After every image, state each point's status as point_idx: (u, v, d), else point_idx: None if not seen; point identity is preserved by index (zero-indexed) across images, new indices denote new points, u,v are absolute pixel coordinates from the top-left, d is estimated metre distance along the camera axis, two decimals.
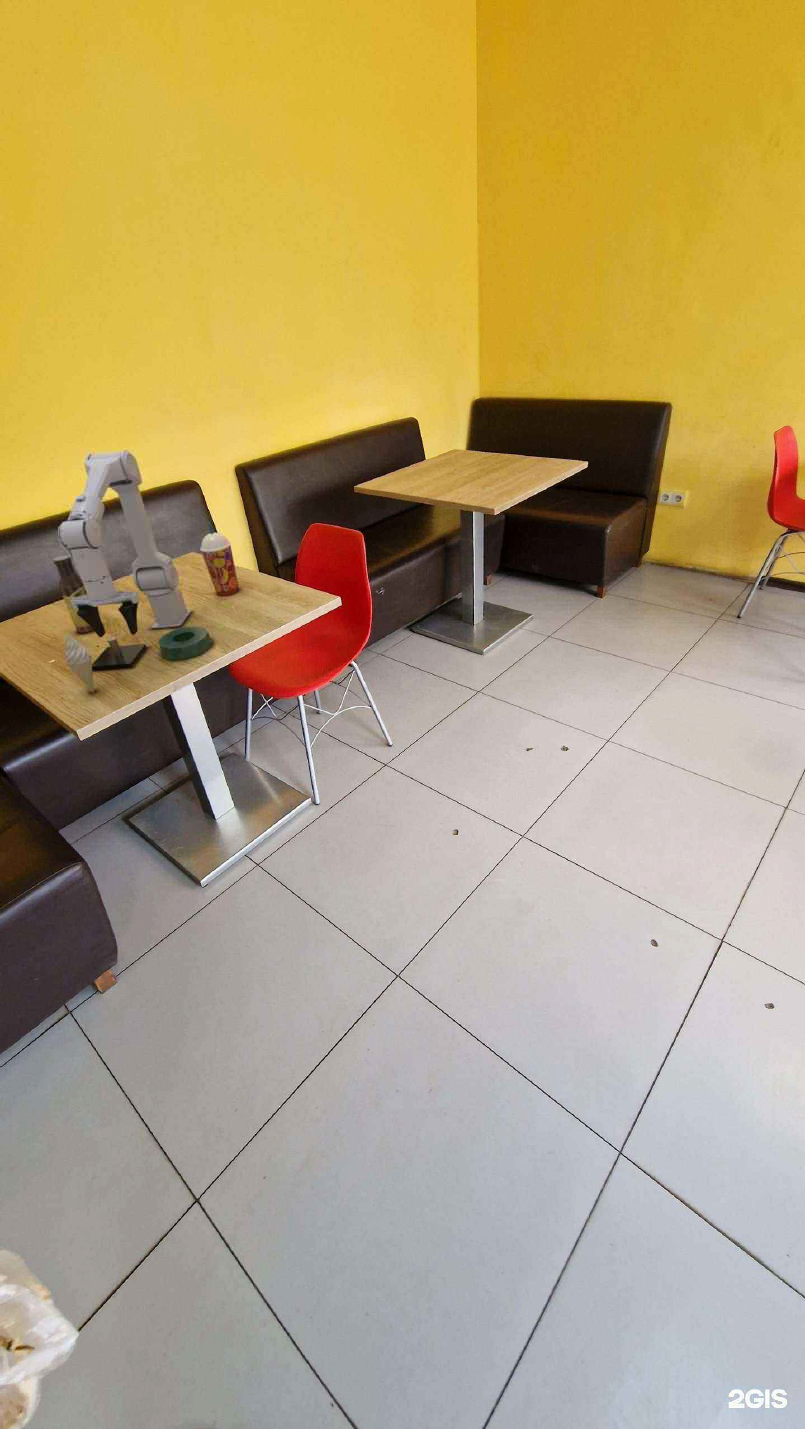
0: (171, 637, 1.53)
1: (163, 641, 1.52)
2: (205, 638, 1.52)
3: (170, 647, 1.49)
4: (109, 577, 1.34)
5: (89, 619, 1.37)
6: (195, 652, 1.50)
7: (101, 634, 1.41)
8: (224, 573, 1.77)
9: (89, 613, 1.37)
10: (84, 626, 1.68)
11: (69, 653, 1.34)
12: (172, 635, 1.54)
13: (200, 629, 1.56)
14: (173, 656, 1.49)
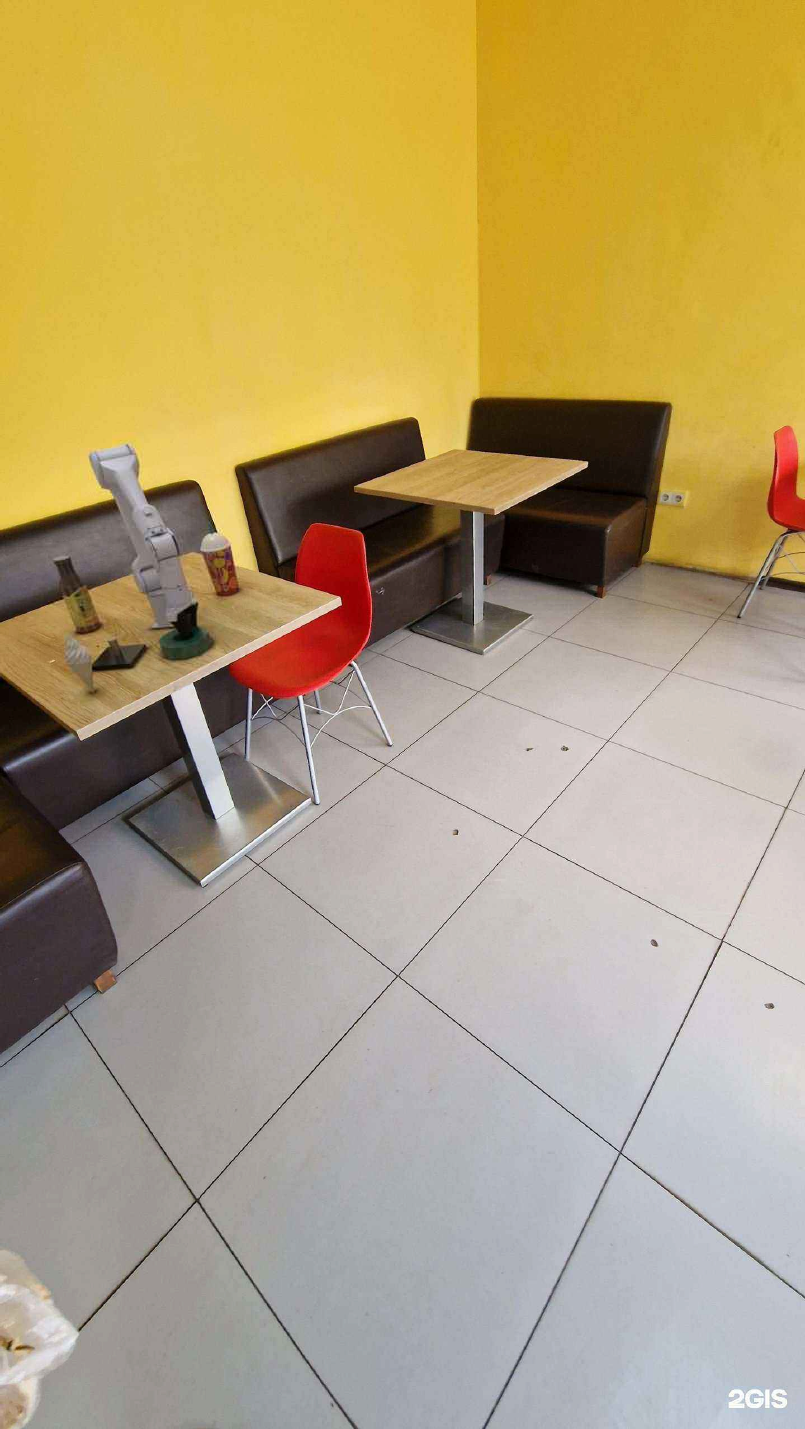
0: (171, 636, 1.54)
1: (163, 640, 1.52)
2: (205, 637, 1.52)
3: (170, 647, 1.49)
4: None
5: (190, 620, 1.53)
6: (195, 651, 1.50)
7: None
8: (224, 573, 1.77)
9: None
10: (84, 626, 1.68)
11: (69, 653, 1.34)
12: (172, 634, 1.55)
13: (200, 628, 1.56)
14: (173, 655, 1.50)
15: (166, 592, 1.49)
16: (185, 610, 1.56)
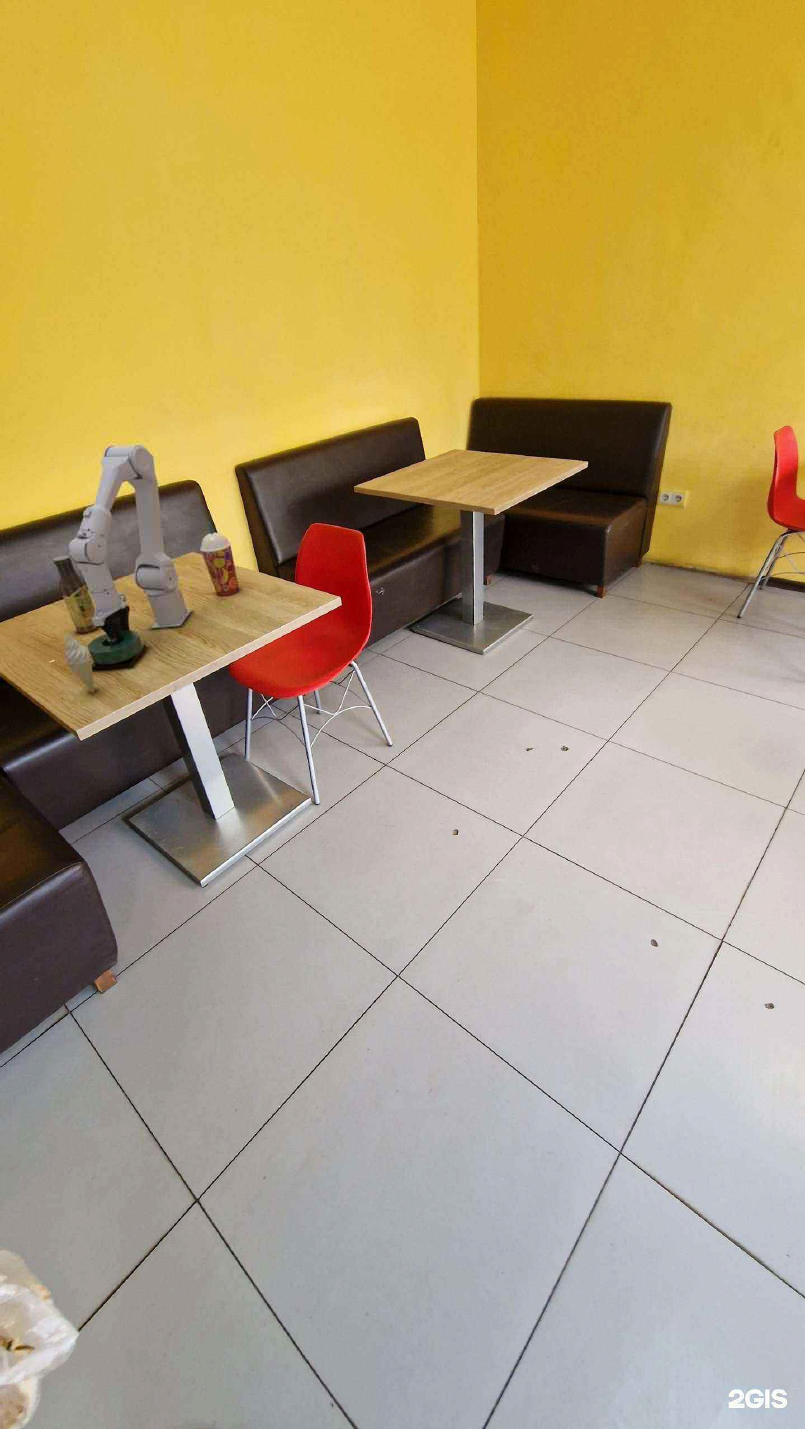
0: (101, 641, 1.51)
1: (92, 645, 1.50)
2: (135, 642, 1.50)
3: (97, 652, 1.47)
4: None
5: (119, 624, 1.51)
6: (124, 656, 1.48)
7: None
8: (224, 573, 1.77)
9: None
10: (84, 626, 1.68)
11: (69, 653, 1.34)
12: (102, 639, 1.52)
13: (131, 633, 1.54)
14: (101, 660, 1.48)
15: (93, 596, 1.46)
16: (116, 614, 1.54)
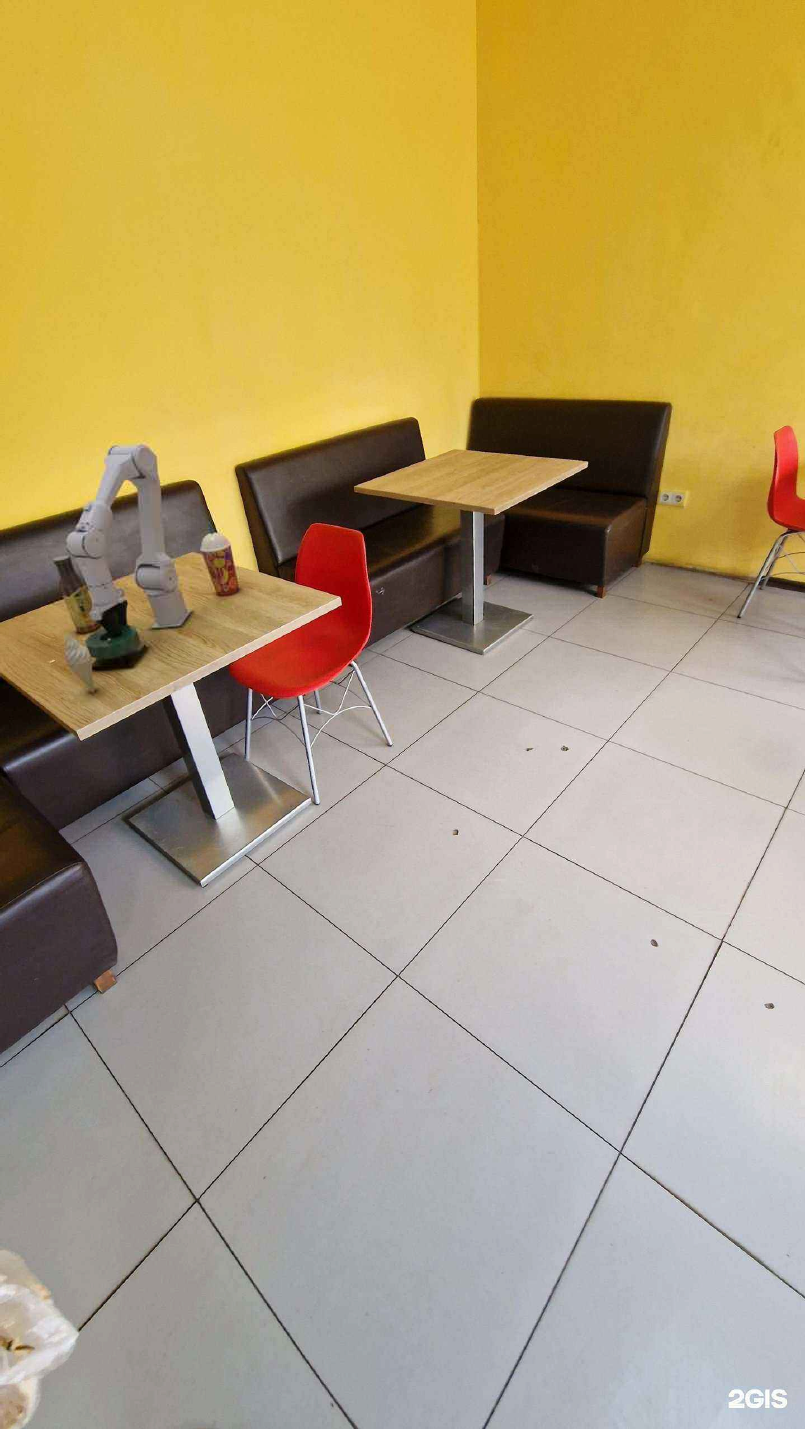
0: (99, 636, 1.51)
1: (90, 640, 1.49)
2: (133, 637, 1.49)
3: (95, 646, 1.46)
4: None
5: (117, 619, 1.50)
6: (121, 651, 1.47)
7: None
8: (224, 573, 1.77)
9: None
10: (84, 626, 1.68)
11: (69, 653, 1.34)
12: (100, 634, 1.52)
13: (129, 628, 1.53)
14: (99, 655, 1.47)
15: (91, 590, 1.46)
16: (114, 609, 1.53)
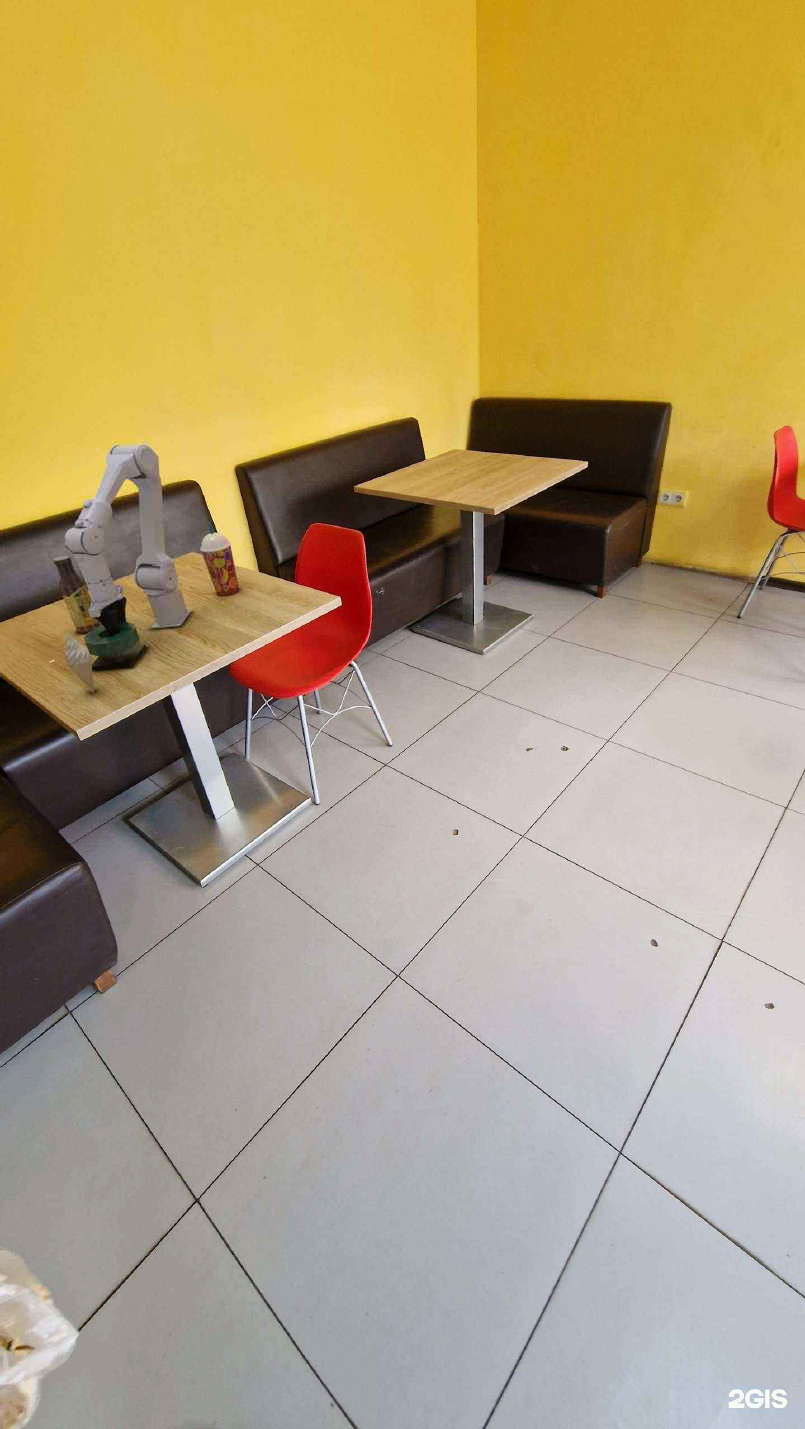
0: (97, 633, 1.50)
1: (88, 637, 1.49)
2: (131, 634, 1.49)
3: (94, 643, 1.45)
4: None
5: (116, 616, 1.49)
6: (120, 648, 1.47)
7: None
8: (224, 573, 1.77)
9: None
10: (84, 626, 1.68)
11: (69, 653, 1.34)
12: (99, 631, 1.51)
13: (128, 625, 1.52)
14: (97, 652, 1.46)
15: (89, 587, 1.45)
16: (112, 606, 1.52)
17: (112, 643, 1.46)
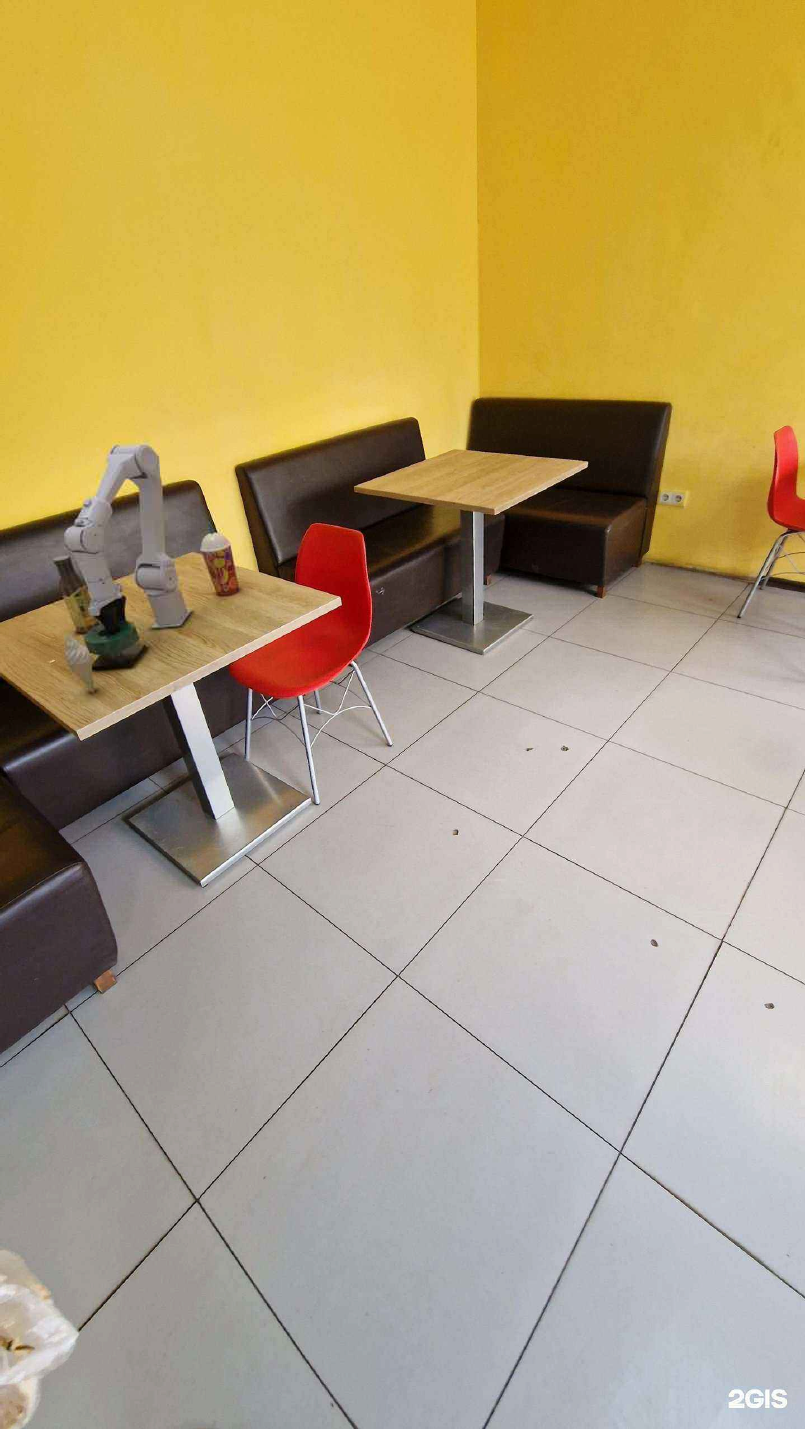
0: (97, 632, 1.50)
1: (88, 635, 1.49)
2: (131, 633, 1.49)
3: (93, 642, 1.45)
4: None
5: (115, 615, 1.49)
6: (120, 647, 1.47)
7: None
8: (224, 573, 1.77)
9: None
10: (84, 626, 1.68)
11: (69, 653, 1.34)
12: (98, 629, 1.51)
13: (128, 623, 1.52)
14: (97, 651, 1.46)
15: (89, 586, 1.45)
16: (112, 604, 1.52)
17: (111, 642, 1.45)
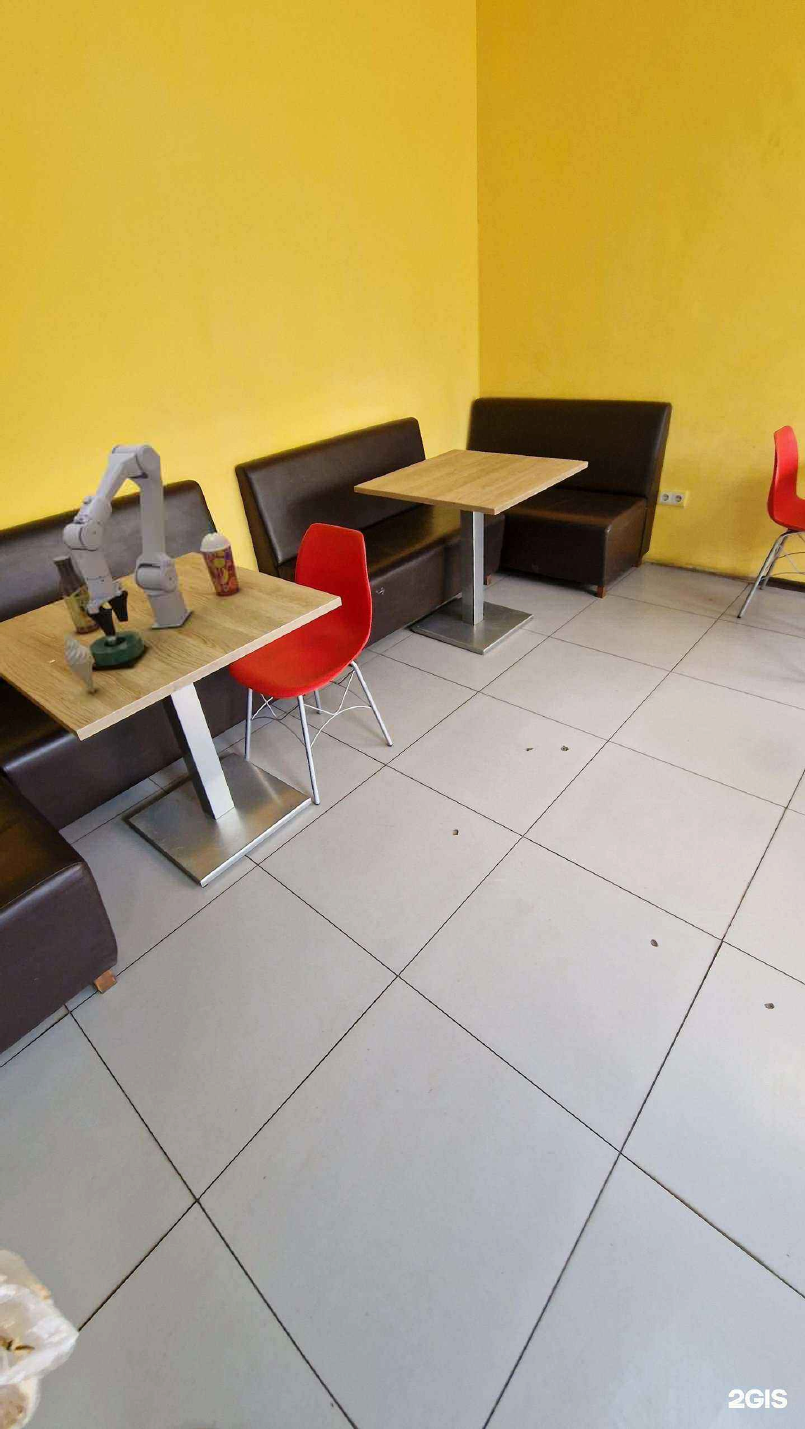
0: (103, 642, 1.52)
1: (94, 646, 1.51)
2: (136, 643, 1.51)
3: (99, 653, 1.48)
4: None
5: (111, 616, 1.47)
6: (125, 657, 1.49)
7: None
8: (224, 573, 1.77)
9: None
10: (84, 626, 1.68)
11: (69, 653, 1.34)
12: (104, 640, 1.53)
13: (133, 634, 1.54)
14: (103, 661, 1.48)
15: (88, 583, 1.45)
16: (114, 599, 1.53)
17: (117, 652, 1.48)
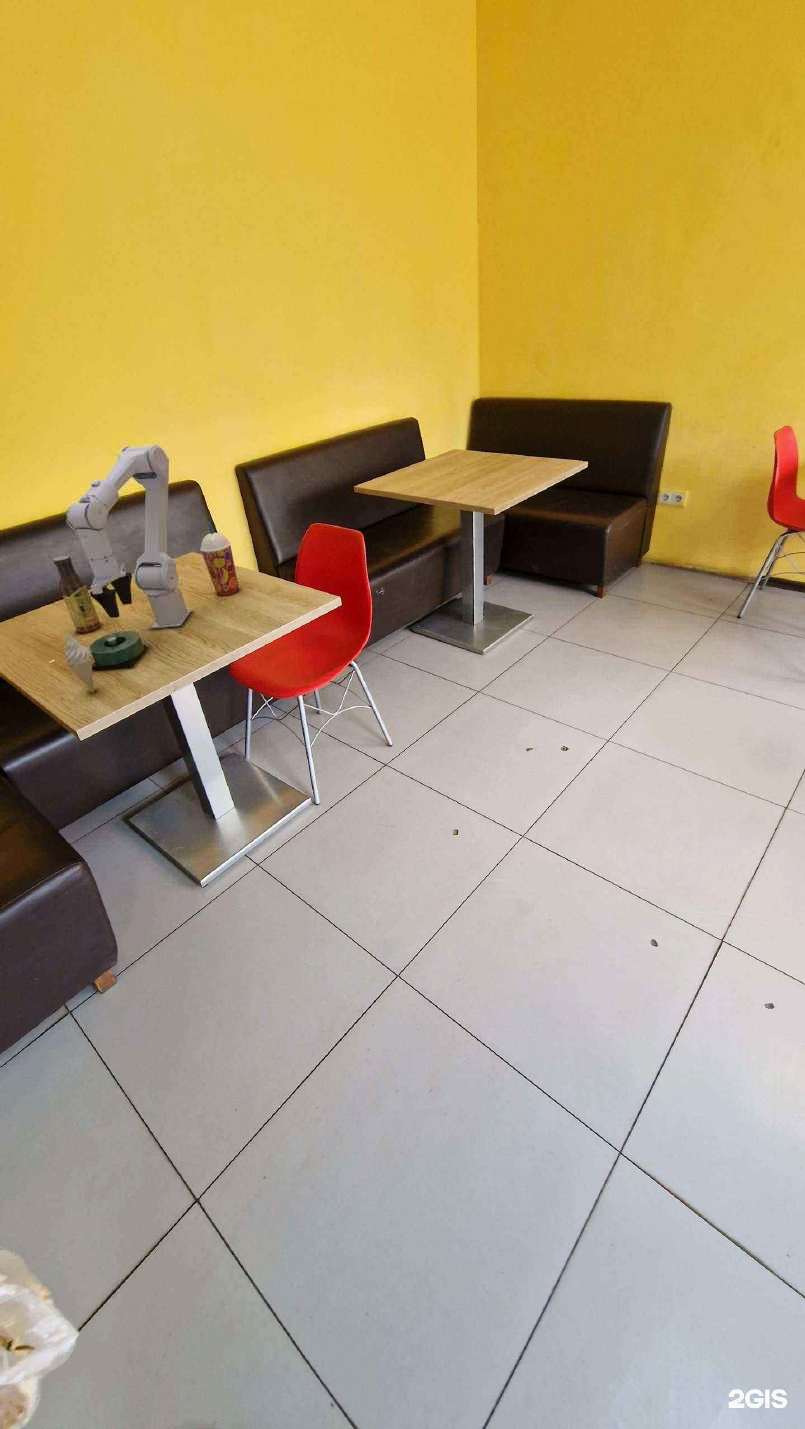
0: (103, 642, 1.52)
1: (94, 646, 1.51)
2: (136, 643, 1.51)
3: (99, 653, 1.48)
4: None
5: (115, 597, 1.46)
6: (125, 657, 1.49)
7: None
8: (224, 573, 1.77)
9: None
10: (84, 626, 1.68)
11: (69, 653, 1.34)
12: (104, 640, 1.53)
13: (133, 634, 1.54)
14: (103, 661, 1.48)
15: (92, 563, 1.43)
16: (118, 581, 1.52)
17: (117, 652, 1.48)
